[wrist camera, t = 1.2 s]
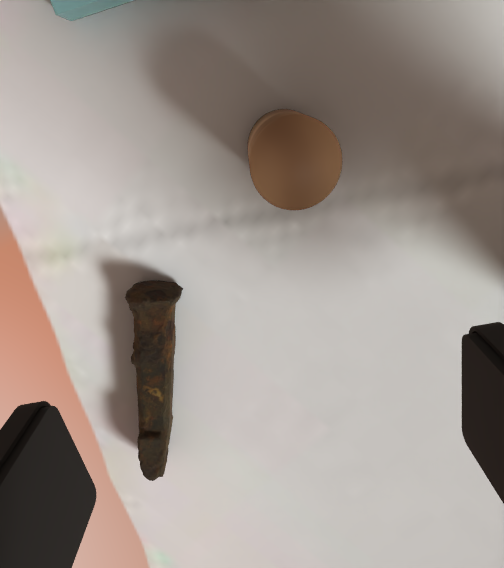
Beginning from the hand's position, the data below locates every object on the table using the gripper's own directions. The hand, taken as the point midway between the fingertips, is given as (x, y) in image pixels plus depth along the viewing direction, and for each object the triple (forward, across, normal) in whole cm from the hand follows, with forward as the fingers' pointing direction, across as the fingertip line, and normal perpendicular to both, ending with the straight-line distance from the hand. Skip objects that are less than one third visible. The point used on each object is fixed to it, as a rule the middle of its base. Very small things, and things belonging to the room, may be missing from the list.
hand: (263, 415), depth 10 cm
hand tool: (+24, +11, +14) cm, 30 cm away
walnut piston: (+24, -3, -3) cm, 24 cm away
